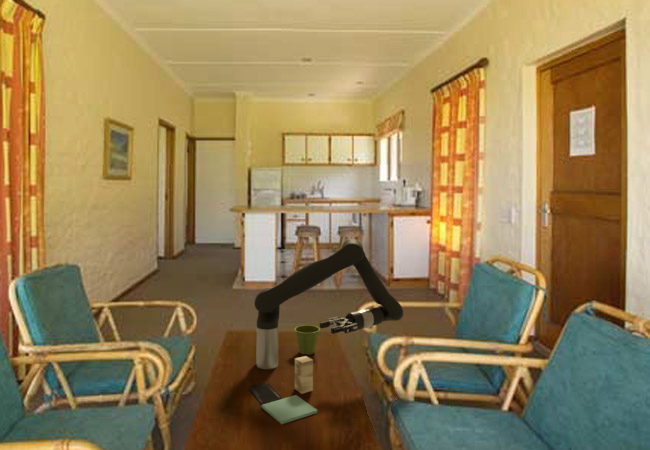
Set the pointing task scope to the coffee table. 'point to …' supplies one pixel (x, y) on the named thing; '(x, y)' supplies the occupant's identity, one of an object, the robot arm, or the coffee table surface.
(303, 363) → the birch block
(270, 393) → the phone
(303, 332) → the plant pot
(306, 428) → the coffee table surface
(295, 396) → the green square tile
